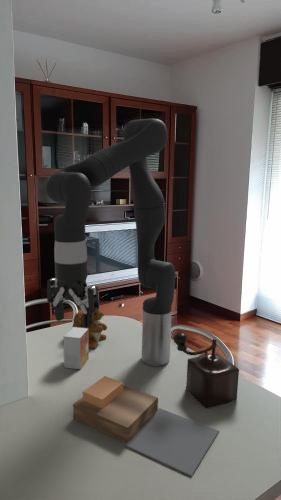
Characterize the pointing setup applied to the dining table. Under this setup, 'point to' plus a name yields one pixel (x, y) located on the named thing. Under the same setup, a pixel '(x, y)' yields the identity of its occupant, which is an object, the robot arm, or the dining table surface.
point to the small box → (76, 348)
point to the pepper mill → (209, 375)
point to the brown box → (118, 413)
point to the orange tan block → (103, 391)
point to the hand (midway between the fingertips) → (73, 323)
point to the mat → (173, 441)
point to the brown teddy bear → (92, 327)
